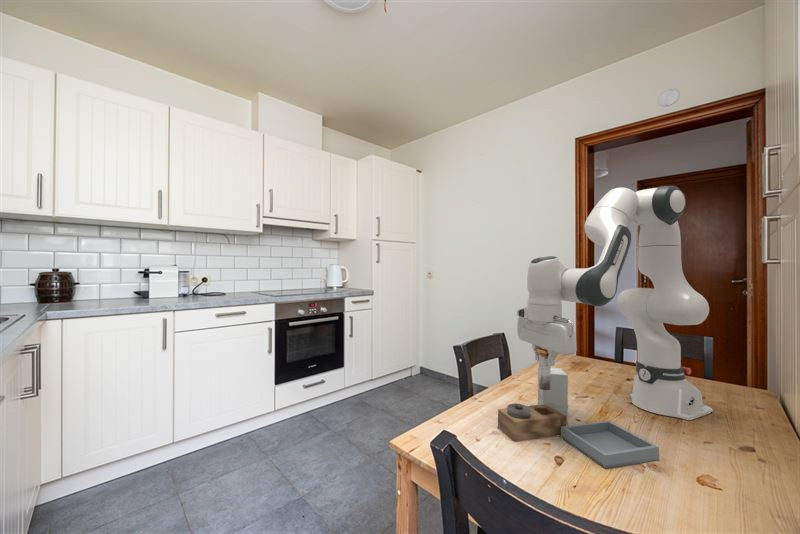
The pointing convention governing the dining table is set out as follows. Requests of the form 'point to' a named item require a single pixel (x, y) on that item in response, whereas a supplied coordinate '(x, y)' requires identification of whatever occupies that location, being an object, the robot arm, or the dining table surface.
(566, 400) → the supplement box
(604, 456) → the tray
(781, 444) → the dining table surface
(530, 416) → the block
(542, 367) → the pin
